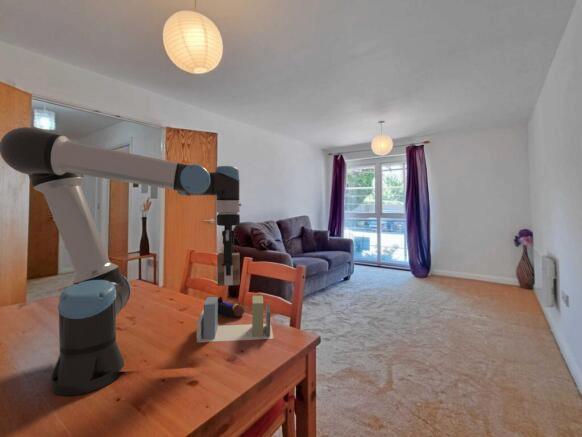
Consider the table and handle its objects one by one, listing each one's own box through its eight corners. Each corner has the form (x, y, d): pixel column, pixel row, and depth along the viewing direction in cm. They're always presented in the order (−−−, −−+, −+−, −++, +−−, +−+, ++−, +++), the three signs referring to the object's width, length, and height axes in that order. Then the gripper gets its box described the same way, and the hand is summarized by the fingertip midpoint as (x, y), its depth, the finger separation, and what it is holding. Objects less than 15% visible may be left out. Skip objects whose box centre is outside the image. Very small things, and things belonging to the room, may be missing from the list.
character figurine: (219, 312, 120) (246, 320, 111) (205, 316, 114) (233, 325, 105) (221, 293, 120) (247, 300, 112) (207, 296, 114) (234, 304, 105)
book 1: (214, 338, 92) (214, 304, 91) (203, 339, 91) (203, 305, 91) (217, 328, 99) (217, 296, 99) (207, 328, 99) (207, 297, 99)
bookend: (270, 336, 94) (270, 312, 93) (267, 336, 93) (267, 312, 93) (268, 325, 102) (268, 303, 102) (265, 325, 102) (265, 303, 102)
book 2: (239, 284, 94) (239, 254, 94) (217, 285, 93) (217, 255, 93) (239, 281, 99) (239, 252, 98) (219, 282, 98) (218, 253, 97)
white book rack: (273, 343, 92) (273, 320, 92) (196, 347, 89) (196, 323, 89) (270, 327, 104) (271, 307, 104) (202, 330, 101) (203, 309, 100)
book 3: (263, 336, 94) (263, 303, 93) (252, 336, 93) (252, 303, 93) (262, 326, 102) (262, 295, 101) (252, 326, 101) (252, 295, 101)
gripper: (239, 214, 87) (239, 289, 88) (240, 212, 104) (241, 276, 105) (213, 214, 86) (214, 291, 87) (219, 213, 103) (220, 276, 104)
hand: (229, 282), depth 96 cm, fingers closed on book 2, 4 cm apart
